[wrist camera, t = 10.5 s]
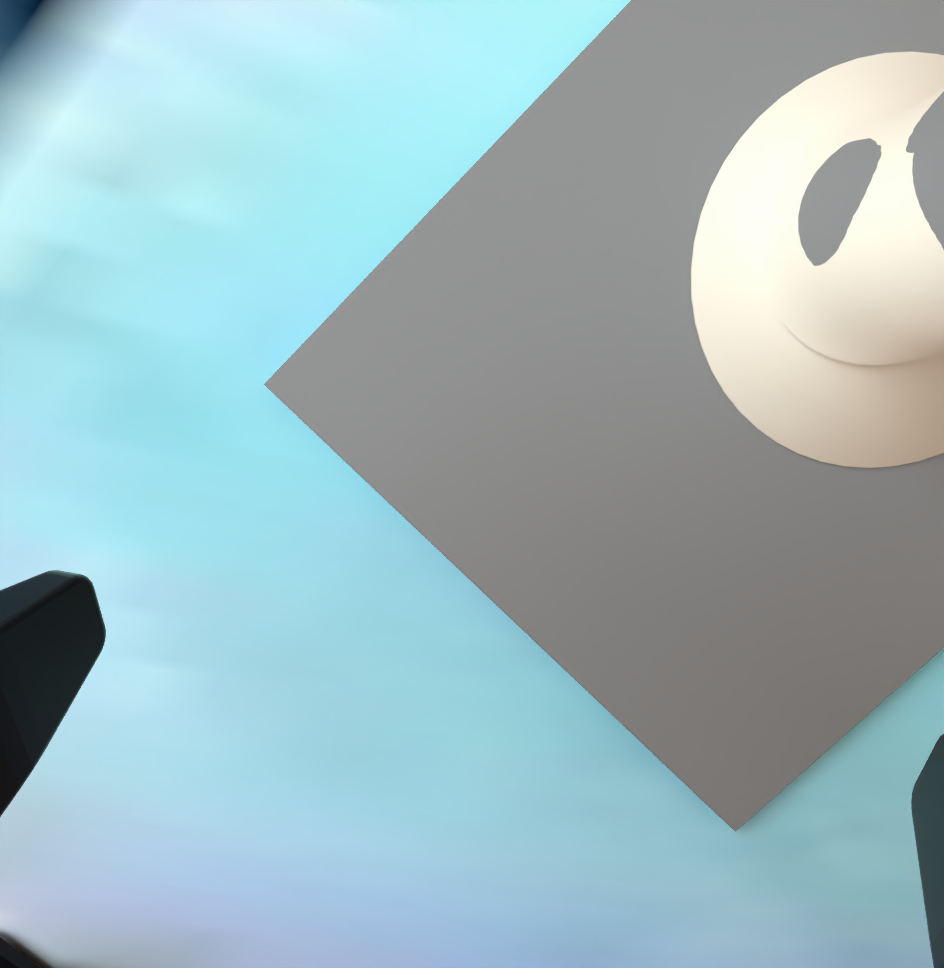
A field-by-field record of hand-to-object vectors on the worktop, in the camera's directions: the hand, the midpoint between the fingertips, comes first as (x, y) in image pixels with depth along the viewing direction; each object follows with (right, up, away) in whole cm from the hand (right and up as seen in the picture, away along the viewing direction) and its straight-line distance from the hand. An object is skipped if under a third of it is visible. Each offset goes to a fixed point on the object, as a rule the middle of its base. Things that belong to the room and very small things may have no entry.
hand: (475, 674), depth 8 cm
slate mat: (+9, +6, +12) cm, 16 cm away
